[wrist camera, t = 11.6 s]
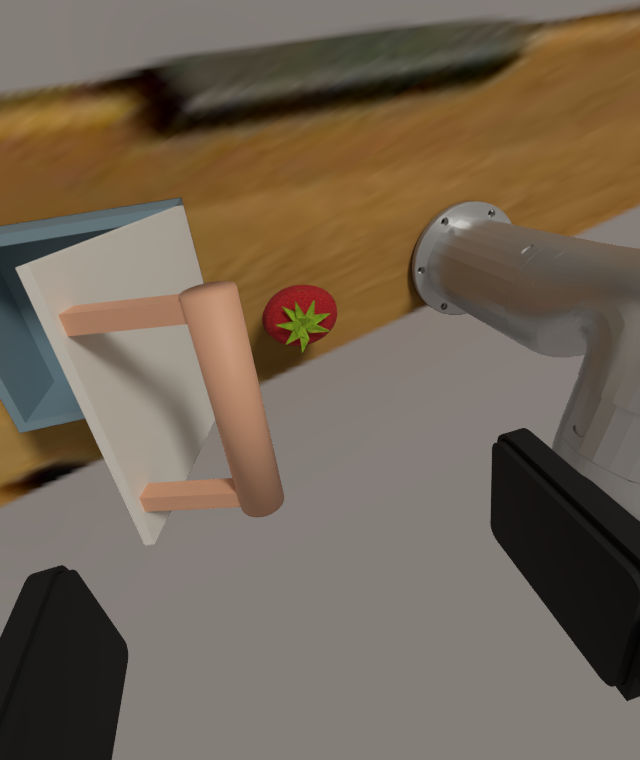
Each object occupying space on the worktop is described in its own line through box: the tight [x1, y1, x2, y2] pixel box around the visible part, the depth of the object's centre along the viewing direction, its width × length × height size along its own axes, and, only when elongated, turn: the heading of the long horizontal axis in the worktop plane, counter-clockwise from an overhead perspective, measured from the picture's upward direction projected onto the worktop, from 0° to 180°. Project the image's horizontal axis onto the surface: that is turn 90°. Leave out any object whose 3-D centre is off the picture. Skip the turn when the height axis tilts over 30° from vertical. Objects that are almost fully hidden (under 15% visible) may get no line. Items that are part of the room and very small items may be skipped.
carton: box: [0, 198, 204, 433], centre depth 39 cm, size 18×16×9 cm
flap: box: [15, 205, 284, 545], centre depth 28 cm, size 18×16×8 cm
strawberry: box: [262, 285, 337, 353], centre depth 43 cm, size 6×8×10 cm
